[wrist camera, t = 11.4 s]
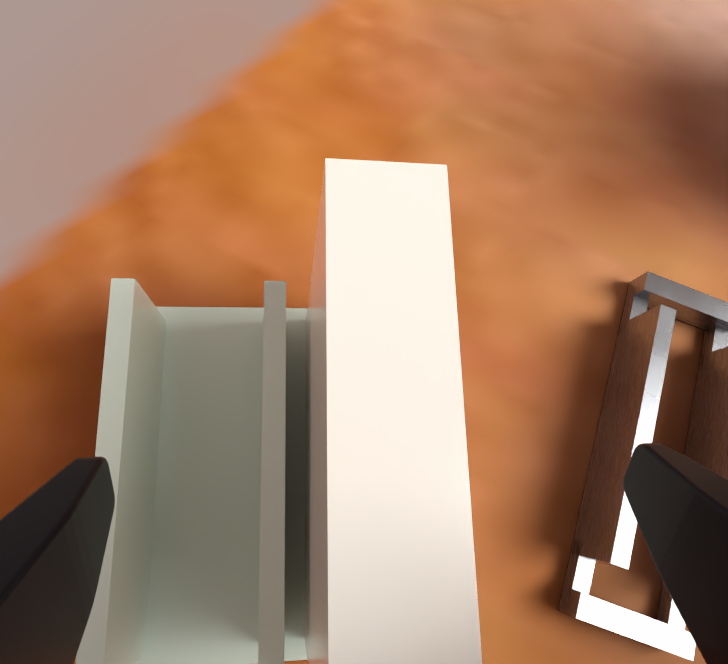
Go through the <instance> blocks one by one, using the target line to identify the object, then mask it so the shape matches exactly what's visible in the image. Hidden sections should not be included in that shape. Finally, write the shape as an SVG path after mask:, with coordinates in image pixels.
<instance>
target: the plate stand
mask: <svg viewBox="0 0 728 664" xmlns="http://www.w3.org/2000/svg"><path fill="white" fill-rule="evenodd" d="M647 308H649V309H650V310H648V311H647ZM675 319H677V320H680V321H682V322H685V323H687V324H690V325H693V326H695V327H698V328H700V329H703V330H705V333H704V339H703V345H702V351H701V357H700V363H699V369H698V375H697V381H696V387H695V393H694V399H693V405H692V411H691V417H690V423H689V429H688V435H687V441H686V447H685V453H684V455H685V456H686V457H688V458H690V459H692V460H693V461H695V462H697V463H699V464H701V465H702V466H704V467H706V468H708V469H710V470H711V471H713V472H715V473H717V474H718V475H720V476H722V477H724V478H726V479H727V480H728V303H727V302H725V301H722V300H720V299H717V298H714V297H712V296H709V295H707V294H704V293H702V292H699V291H697V290H694V289H691V288H689V287H686V286H684V285H681V284H679V283H676V282H674V281H671V280H668V279H666V278H663V277H661V276H658V275H656V274H653V273H651V272H646V273H644V274H643V275H641V276H639V277H638V278H636V279H634V280H633V281H631V282H629V287H628V291H627V296H626V301H625V305H624V310H623V314H622V319H621V324H620V328H619V333H618V337H617V342H616V347H615V351H614V356H613V360H612V365H611V370H610V374H609V379H608V383H607V388H606V393H605V397H604V402H603V406H602V411H601V416H600V420H599V425H598V429H597V434H596V439H595V443H594V448H593V452H592V457H591V462H590V466H589V471H588V475H587V480H586V485H585V489H584V494H583V498H582V503H581V508H580V512H579V517H578V521H577V526H576V531H575V535H574V540H573V544H572V549H571V554H570V558H569V563H568V567H567V572H566V577H565V581H564V586H563V590H562V595H561V600H560V604H559V609H558V610H559V611H561V612H563V613H566V614H568V615H570V616H572V617H574V618H577V619H579V620H582V621H585V622H588V623H590V624H593V625H596V626H598V627H601V628H604V629H607V630H609V631H612V632H615V633H618V634H620V635H623V636H626V637H629V638H631V639H634V640H637V641H639V642H642V643H645V644H648V645H650V646H653V647H656V648H659V649H661V650H664V651H667V652H669V653H672V654H675V655H678V656H680V657H683V658H686V659H689V660H691V661H693V660H694V653H695V646H696V643H695V641H694V639H693V637H692V635H691V633H690V632H688V631H685V622H684V620H683V618H682V616H681V615H680V613H679V611H678V609H677V607H676V605H675V603H674V601H673V599H672V598H671V596H670V594H669V592H668V590H667V588H666V586H665V584H664V582H663V585H662V591H661V597H660V603H659V609H658V615H657V620H655V619H652V618H650V617H647V616H644V615H642V614H639V613H636V612H633V611H631V610H628V609H625V608H623V607H620V606H617V605H614V604H612V603H609V602H606V601H604V600H601V599H598V598H595V597H593V596H590V595H589V591H590V586H591V581H592V576H593V571H594V566H595V562H599V563H604V564H608V565H612V566H616V567H620V568H624V569H629V564H630V559H631V553H632V548H633V542H634V537H635V532H636V526H637V521H636V518H635V516H634V514H633V511H632V509H631V506H630V504H629V501H628V499H627V497H626V494H625V491H624V488H623V477H624V474H625V471H626V469H627V467H628V464H629V462H630V459H631V457H632V454H633V452H634V449H635V448H636V447H637V446H638V445H639V444H642V443H652V440H653V435H654V429H655V424H656V418H657V413H658V408H659V402H660V397H661V392H662V386H663V381H664V375H665V370H666V365H667V359H668V354H669V348H670V343H671V338H672V332H673V327H674V322H675Z"/></svg>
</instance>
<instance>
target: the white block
mask: <svg viewBox="0 0 728 664" xmlns="http://www.w3.org/2000/svg"><path fill="white" fill-rule="evenodd" d="M305 645H306V653H307V662H308V664H482V654H481V640H480V626H479V612H478V598H477V584H476V570H475V556H474V542H473V528H472V513H471V499H470V485H469V471H468V457H467V443H466V429H465V415H464V401H463V387H462V373H461V358H460V344H459V330H458V316H457V302H456V288H455V274H454V260H453V246H452V232H451V218H450V203H449V189H448V175H447V165H438V164H420V163H402V162H384V161H366V160H348V159H330V158H325V166H324V174H323V182H322V191H321V199H320V207H319V216H318V224H317V232H316V241H315V249H314V257H313V266H312V274H311V282H310V291H309V299H308V307H307V316H306V443H305Z"/></svg>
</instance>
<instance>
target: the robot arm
mask: <svg viewBox="0 0 728 664" xmlns="http://www.w3.org/2000/svg"><path fill="white" fill-rule="evenodd" d="M623 488H624V491H625V494H626V497H627V499H628V501H629V504H630V506H631V509H632V511H633V514H634V516H635V518H636V521H637V523H638V526H639V528H640V530H641V533H642V535H643V538H644V540H645V543H646V545H647V547H648V550H649V552H650V555H651V557H652V559H653V562H654V564H655V566H656V568H657V570H658V572H659V574H660V576H661V578H662V580H663V582H664V584H665V586H666V588H667V590H668V592H669V594H670V596H671V598H672V599H673V601H674V603H675V605H676V607H677V609H678V611H679V613H680V615H681V616H682V618H683V620H684V622H685V624H686V626H687V628H688V630H689V632H690V633H691V635H692V637H693V639H694V641H695V643H696V645H697V647H698V648H699V650H700V652H701V654H702V656H703V658H704V660H705V662H706V664H728V480H727V479H726V478H724V477H722V476H720V475H718V474H717V473H715V472H713V471H711V470H710V469H708V468H706V467H704V466H702V465H701V464H699V463H697V462H695V461H693V460H692V459H690V458H688V457H686V456H685V455H683V454H681V453H679V452H677V451H676V450H674V449H672V448H670V447H668V446H667V445H665V444H662V443H642V444H639V445H638V446H637V447H636V448H635V449H634V452H633V454H632V457H631V459H630V462H629V464H628V467H627V469H626V471H625V474H624V477H623ZM114 506H115V494H114V489H113V484H112V479H111V474H110V469H109V464H108V462H107V460H106V458H104V457H101V456H96V457H78V458H76V459H74V460H73V461H72V462H71V463H69V464H68V465H67V466H66V467H64V468H63V469H62V470H61V471H59V472H58V473H57V474H56V475H55V476H53V477H52V478H51V479H50V480H48V481H47V482H46V483H45V484H43V485H42V486H41V487H40V488H39V489H37V490H36V491H35V492H34V493H32V494H31V495H30V496H29V497H28V498H26V499H25V500H24V501H23V502H21V503H20V504H19V505H18V506H16V507H15V508H14V509H13V510H12V511H10V512H9V513H8V514H7V515H5V516H4V517H3V518H2V519H0V664H74V661H75V658H76V655H77V652H78V649H79V646H80V643H81V640H82V637H83V634H84V631H85V628H86V625H87V622H88V619H89V616H90V613H91V610H92V606H93V603H94V599H95V595H96V590H97V586H98V582H99V577H100V572H101V568H102V563H103V558H104V554H105V549H106V544H107V540H108V535H109V530H110V526H111V521H112V517H113V512H114Z"/></svg>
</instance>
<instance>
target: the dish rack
mask: <svg viewBox="0 0 728 664" xmlns="http://www.w3.org/2000/svg"><path fill="white" fill-rule="evenodd" d="M306 316H307V308H286V281H264V308H244V307H156V306H155V305H154V304H153V302H152V301H151V300H150V298H149V297H148V295H147V294H146V293H145V291H144V290H143V289H142V287H141V286H140V285H139V283H138V282H137V280H136V279H131V278H111V289H110V299H109V310H108V321H107V332H106V342H105V353H104V364H103V375H102V385H101V396H100V407H99V418H98V428H97V439H96V450H95V457H96V456H101V457H104V458H106V460H107V462H108V464H109V469H110V474H111V479H112V484H113V489H114V494H115V506H114V512H113V517H112V521H111V526H110V530H109V535H108V540H107V544H106V549H105V554H104V558H103V563H102V568H101V572H100V577H99V582H98V586H97V590H96V595H95V599H94V603H93V606H92V610H91V613H90V616H89V619H88V622H87V625H86V628H85V631H84V634H83V637H82V640H81V643H80V646H79V649H78V652H77V655H76V664H256V663H258V664H284V661H295V660H307V653H306V645H305V443H306Z"/></svg>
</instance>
